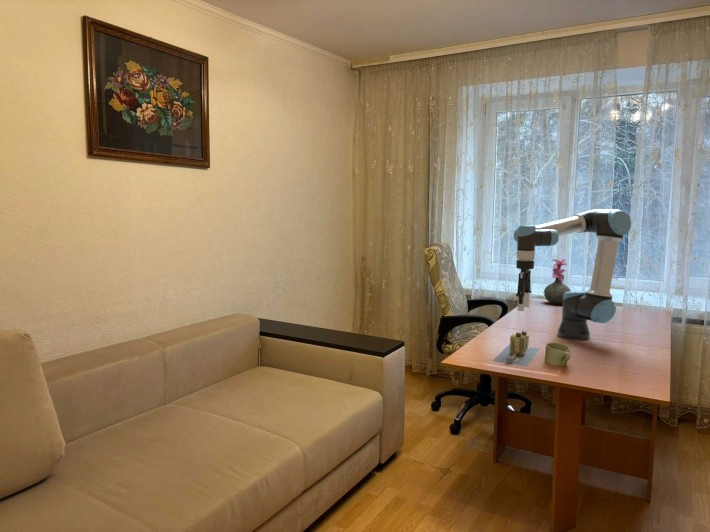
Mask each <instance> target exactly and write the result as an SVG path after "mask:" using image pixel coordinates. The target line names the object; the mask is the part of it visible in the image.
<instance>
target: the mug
mask: <svg viewBox="0 0 710 532" xmlns="http://www.w3.org/2000/svg"><path fill="white" fill-rule="evenodd" d="M544 356H545V357H544V362H545V363H546V364H548V365H551V366H558V367H563V368H565V366H567V365H568V361H569V360H570V359H571V356H572V355H571V349H570V347H569V346H568V345H566V344H562V343H559V342H548V343H546V344H545V355H544Z"/></svg>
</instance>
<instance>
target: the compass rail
mask: <svg viewBox="0 0 710 532" xmlns="http://www.w3.org/2000/svg"><path fill="white" fill-rule="evenodd" d="M521 335H522V336H526V348H528V347H530V344H529V343H530V334H529V333H528V334H527V331H523V330H521ZM518 355H519V352H515V353H514V354H513V355H512V356H511V357H509V356H507V357H506V363H505V364H509V363H510V364H509V365H513V364H512V363H513V360H514V359H515V358H516V357H517V356H518Z"/></svg>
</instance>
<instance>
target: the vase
mask: <svg viewBox="0 0 710 532" xmlns="http://www.w3.org/2000/svg"><path fill="white" fill-rule="evenodd" d="M566 261H567V260H566V259H563V258H561V259H560V260H559V259H556V258H555V259H552V262H555V263H554V264H553V265H552V279H555V280H554V282H551V283H550V284H548V285H547V286H546V287H545V288H544V290H543V296H544V298H545V300H546V301H548V302H549V303H551V305H555V306H563V295H564V293H565V292H570V291H572V290H571V288H570V287H569V286H567V285H566V284H564V282H565V276H564V272H567V271H566V270H565V269H561V268H562V266H566V267H567V266H568V265H567V262H566Z"/></svg>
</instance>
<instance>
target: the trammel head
mask: <svg viewBox="0 0 710 532" xmlns="http://www.w3.org/2000/svg"><path fill="white" fill-rule="evenodd" d="M521 334H522V332H515V334H511V335H510V337H509V344H510V354H514V353H515V352H519V355H524V354H525V353H526V336H522V335H521Z"/></svg>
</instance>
